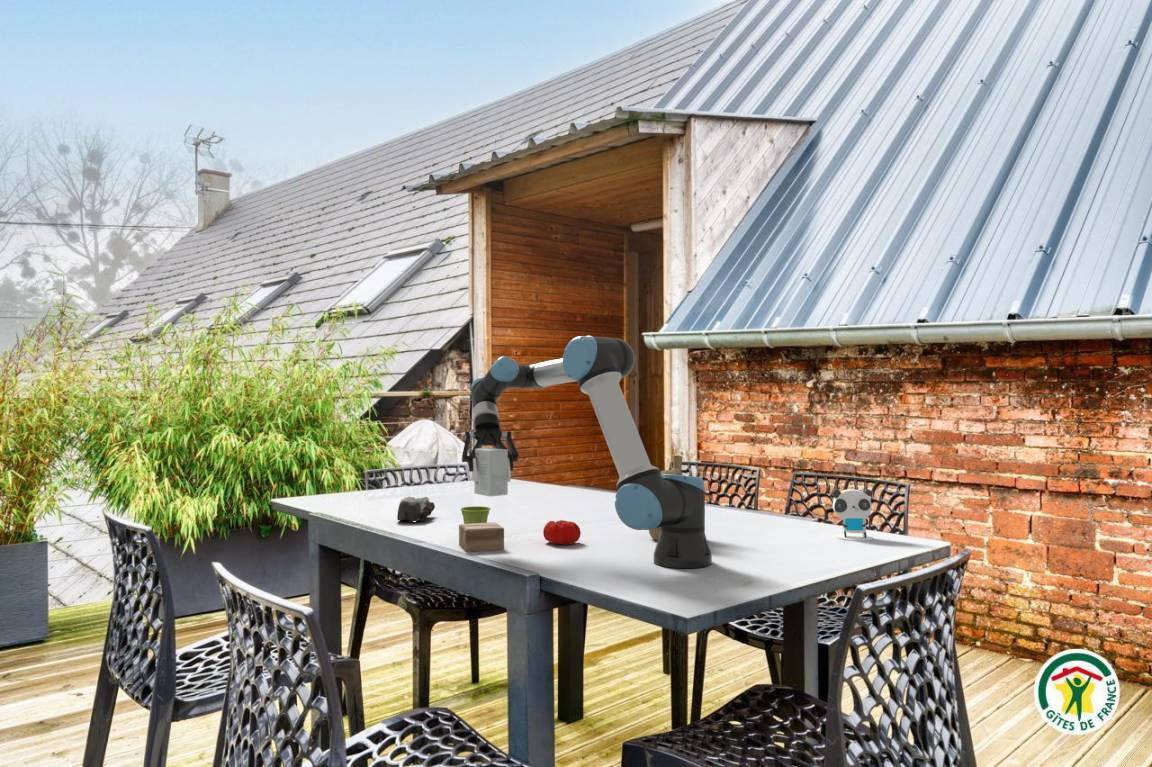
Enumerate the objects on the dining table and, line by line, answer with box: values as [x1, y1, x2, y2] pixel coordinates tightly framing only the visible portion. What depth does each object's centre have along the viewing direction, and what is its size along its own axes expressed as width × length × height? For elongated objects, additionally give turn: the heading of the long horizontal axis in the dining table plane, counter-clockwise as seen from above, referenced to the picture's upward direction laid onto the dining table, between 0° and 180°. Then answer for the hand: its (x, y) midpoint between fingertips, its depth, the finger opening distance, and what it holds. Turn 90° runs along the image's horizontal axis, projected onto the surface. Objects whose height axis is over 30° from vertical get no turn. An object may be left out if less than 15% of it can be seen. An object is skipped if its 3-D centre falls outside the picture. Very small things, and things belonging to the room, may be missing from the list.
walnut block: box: [458, 521, 505, 553], centre depth 237 cm, size 11×11×6 cm
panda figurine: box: [830, 488, 874, 542], centre depth 252 cm, size 12×11×15 cm
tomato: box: [542, 519, 581, 546], centre depth 243 cm, size 10×11×6 cm
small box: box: [473, 447, 509, 497], centre depth 234 cm, size 8×6×13 cm
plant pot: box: [460, 505, 491, 524], centre depth 255 cm, size 9×9×9 cm
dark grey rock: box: [396, 496, 436, 522], centre depth 288 cm, size 18×11×8 cm, turn 1°
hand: (492, 479), depth 230 cm, fingers closed on small box, 9 cm apart
